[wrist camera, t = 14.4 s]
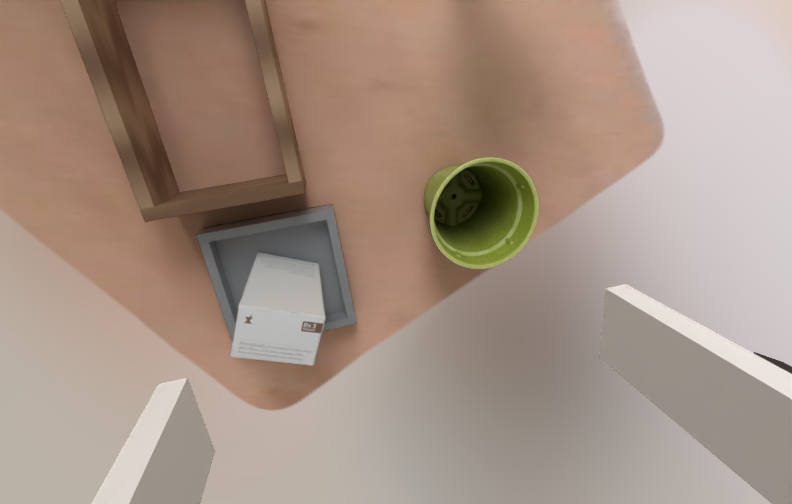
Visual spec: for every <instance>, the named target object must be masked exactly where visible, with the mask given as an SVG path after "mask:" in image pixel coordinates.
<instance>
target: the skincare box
mask: <svg viewBox="0 0 792 504" xmlns="http://www.w3.org/2000/svg"><path fill="white" fill-rule="evenodd" d="M325 320H326V316H325V310H324V303H323V294H322V286H321V277H320V268H319V264H318V263H313V262H308V261H302V260H297V259H292V258H287V257H282V256H276V255H271V254H266V253H261V252H258V253H257V256H256V259H255V261H254V264H253V267H252V269H251V272H250V275H249V278H248V281H247V283H246V286H245V289H244V292H243V296H242V299H241V301H240V303H239V306H238V313H237V320H236V326H235V332H234V338H233V343H232V347H231V351H230V356H231V357H233V358H244V359H254V360H264V361H273V362H283V363H292V364H301V365H310V366H313V365H314V364H315V360H316V356H317V351H318V347H319V343H320V339H321V335H322V331H323V328H324V324H325Z"/></svg>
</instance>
